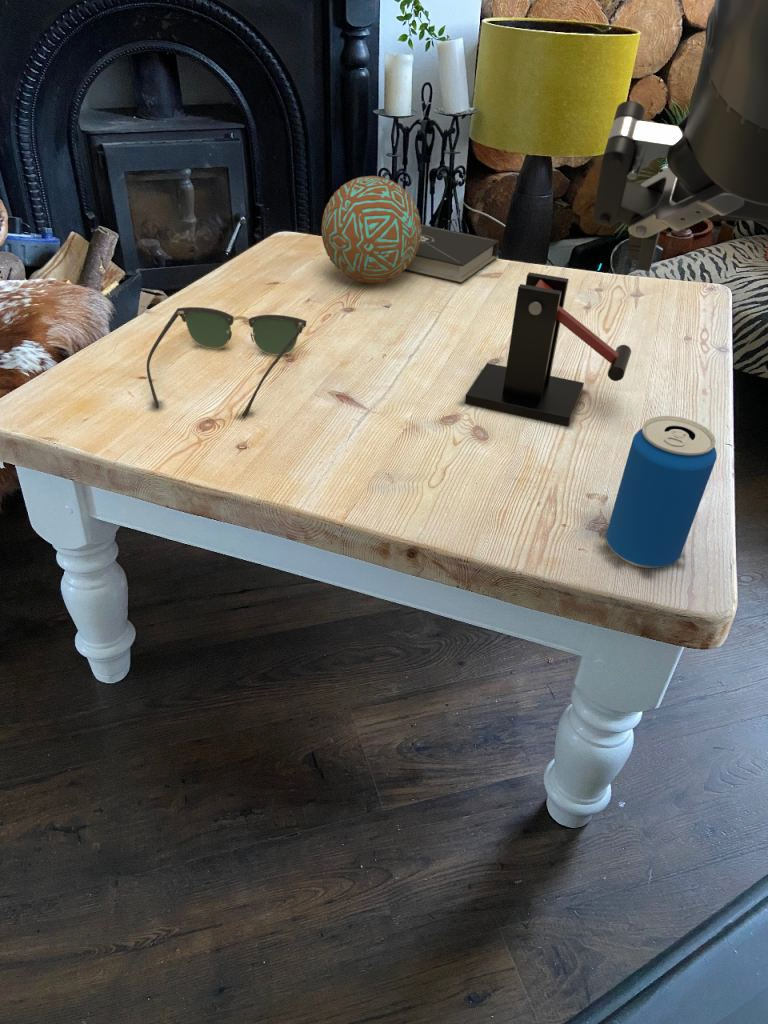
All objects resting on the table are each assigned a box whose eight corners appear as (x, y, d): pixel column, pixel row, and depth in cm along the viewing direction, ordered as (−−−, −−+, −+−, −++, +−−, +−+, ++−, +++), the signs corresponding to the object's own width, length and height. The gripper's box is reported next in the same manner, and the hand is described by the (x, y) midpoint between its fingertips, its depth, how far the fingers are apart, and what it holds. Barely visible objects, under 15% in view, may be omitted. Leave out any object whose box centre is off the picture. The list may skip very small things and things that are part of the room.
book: (497, 257, 126) (500, 239, 124) (461, 283, 116) (463, 264, 114) (386, 234, 134) (387, 216, 133) (343, 256, 124) (343, 238, 122)
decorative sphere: (377, 306, 108) (380, 197, 99) (302, 280, 115) (298, 176, 106) (437, 279, 117) (445, 178, 108) (364, 256, 124) (366, 160, 115)
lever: (621, 363, 84) (636, 348, 82) (614, 386, 79) (629, 371, 78) (530, 290, 83) (544, 273, 81) (517, 308, 79) (531, 291, 77)
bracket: (582, 391, 89) (607, 278, 81) (568, 426, 82) (593, 307, 74) (485, 371, 92) (500, 260, 84) (464, 403, 86) (478, 287, 77)
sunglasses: (128, 405, 83) (120, 364, 80) (183, 341, 96) (178, 304, 93) (272, 421, 81) (269, 380, 78) (308, 354, 94) (307, 317, 91)
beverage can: (687, 543, 67) (729, 428, 59) (667, 584, 62) (710, 465, 55) (617, 518, 69) (650, 405, 62) (593, 555, 65) (625, 438, 58)
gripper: (1108, -62, 23) (890, 223, 38) (638, -78, 27) (612, 187, 42) (1060, 158, 22) (857, 358, 38) (583, 108, 26) (577, 308, 42)
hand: (727, 267), depth 40 cm, fingers open, 8 cm apart
